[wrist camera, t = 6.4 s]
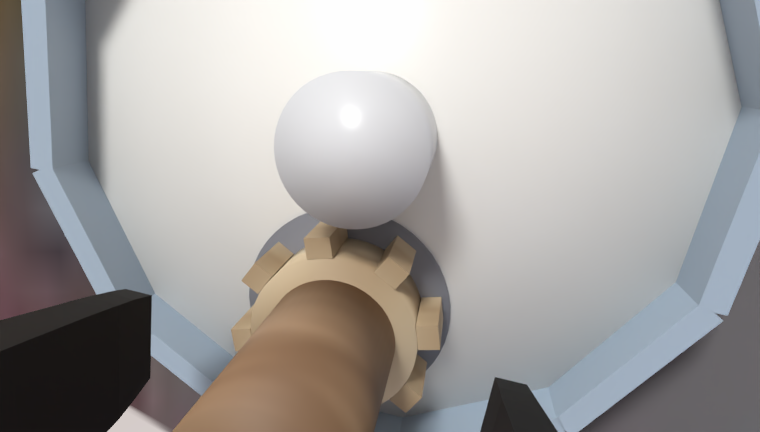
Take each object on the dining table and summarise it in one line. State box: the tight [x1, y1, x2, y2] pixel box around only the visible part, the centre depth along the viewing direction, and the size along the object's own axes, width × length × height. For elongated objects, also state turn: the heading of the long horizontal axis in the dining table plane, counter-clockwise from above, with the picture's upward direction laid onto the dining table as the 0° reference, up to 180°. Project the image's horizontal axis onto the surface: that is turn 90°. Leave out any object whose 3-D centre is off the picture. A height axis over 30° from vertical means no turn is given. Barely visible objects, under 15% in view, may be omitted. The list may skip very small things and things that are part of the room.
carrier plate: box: [21, 0, 760, 432], centre depth 11 cm, size 17×17×4 cm
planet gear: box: [172, 221, 443, 432], centre depth 10 cm, size 5×5×6 cm
